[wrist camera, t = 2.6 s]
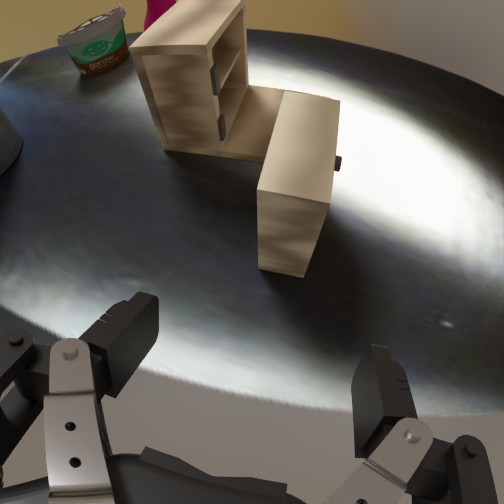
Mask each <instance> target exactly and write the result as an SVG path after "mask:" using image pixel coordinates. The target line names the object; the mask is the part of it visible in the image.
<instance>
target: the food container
mask: <svg viewBox="0 0 504 504" xmlns="http://www.w3.org/2000/svg"><path fill="white" fill-rule="evenodd" d="M125 15H126V12H125V11H124V9H123V7H122V6H120V4H119V8H117V9H114V10H112V11H110V12H108V13H106V14H104V15H100V16H97V17H94V18H92V19H89V20H87V21H86V22H84V23H83V24H81V25H80V26H78V27H77V28H75V29H73V30H72V31H70V32H68V33H66V34H64V35H59V34H57V35H58V37H57V42H58V45H59V46H64V47H65V49H66V51H67V52H68V54H69V55H70V57H71V59H72V60H73V62H74V64H75V65H76V67H77V68H78V70H79V72H80V73H81V75H82V76H85V77H93V76H97V75H101V74H103V73H106V72H108V71H110V70H112V69H114V68H116V67H117V66H119V65H120V64H121V63H122V62H123V61H124V60H125V59H126V58H127V57H128V54H129V52H128V47H127V41H126V36H125V30H124V24H123V18H124V17H125Z"/></svg>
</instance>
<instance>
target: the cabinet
mask: <svg viewBox="0 0 504 504" xmlns="http://www.w3.org/2000/svg"><path fill="white" fill-rule="evenodd" d="M129 49H130V52H131V55H132V58H133V61H134V64H135V68H136V71H137V74H138V77H139V80H140V83H141V86H142V89H143V92H144V95H145V98H146V101H147V104H148V107H149V110H150V112H151V115H152V118H153V121H154V124H155V127H156V130H157V132H158V135H159V138H160V141H161V144H162V146H163V149H164V150H170V151H179V152H188V153H196V154H204V155H212V156H219V157H226V158H233V159H240V160H246V161H252V162H259V163H264V162H265V158H266V154H267V151H268V147H269V144H270V140H271V137H272V133H273V130H274V126H275V123H276V119H277V116H278V112H279V109H280V105H281V102H282V98H283V95H284V91H289V90H282V89H275V88H268V87H260V86H251V85H249V83H248V60H247V37H246V16H245V0H179V1H178V2H177V3H176V4H174V5H173V6H172V7H171V8H170V9H169V10H168V11H166V12H165V13H164V14H163V15H162V16H161V17H160V18H159V19H158V20H157V21H155V22H154V23H153V24H152V25H151V26H150V27H149V28H148V29H147V30H146V31H145V32H144V33H143V34H142V35H141V36H140V37H139V38H138V39H137V40H136V41H135V42H134V43H133V44H132V45H131V46H130V47H129ZM290 92H295V91H290ZM296 93H301V92H296ZM302 94H307V93H302ZM308 95H313V94H308ZM313 96H318V95H313ZM319 97H323V96H319ZM324 98H328V97H324ZM329 99H331V98H329Z"/></svg>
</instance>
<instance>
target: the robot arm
mask: <svg viewBox="0 0 504 504" xmlns="http://www.w3.org/2000/svg"><path fill="white" fill-rule="evenodd" d="M21 147H22V137H21V136H20V134H19V133H18V132H17V130H16V129H15V127H14V126H13V125H12V123H11V122H10V120H9V119H8V117H7V116H6V114H5V113H4V112H3V110H2V109H1V107H0V175H2V174H3V173H4V172H5V171H6V170H7V169H8V168H9V167H10V166H11V164H12V163H13V162H14V160H15V159H16V157H17V156H18V154H19V152H20V150H21ZM158 332H159V300H158V297H157V296H154V295H150V294H147V293H143V292H137V293H136V294H135V295H134V296H133V297H132V298H131V299H130V300H129V301H126V300H123V301H121V302H119V303H117V304H114V305H113V306H112V307H111V308H110V309H108V310H107V311H106V313H105V314H103V315H102V316H101V317H100V319H98V320H97V321H96V322H95V323H94V324H93V325H92V326H91V327H90V328H89V329H88V330H87V331H85V332H84V333H83V334H82V335H81V336H80V337H79V338H78V339H76V338H67V339H63V340H60V341H58V342H57V343H55V344H54V345H53V347H50V346H45V345H39V344H35V343H34V339H33V336H32V334H31V333H30V332H29V331H27V330H24V329H14V330H11V331H8V332H7V333H5V334H4V335H3V336H1V337H0V396H1V394H2V393H3V391H4V390H5V389H6V388H7V387H8V386H9V385H10V383H11V382H12V381H14V383H15V386H14V387H13V388H12V389H11V390H10V392H9V393H8V394H7V395H6V396H5V397H4V398H3V400H2V401H1V402H0V504H306V503H305V502H303V501H302V500H300V499H298V498H297V497H295V496H293V495H290V494H288V493H286V489H287V484H285V483H279V482H273V481H268V480H262V479H257V478H252V477H216V476H211V475H208V474H206V473H204V472H203V471H201V470H199V469H197V468H195V467H193V466H192V465H190V464H188V463H186V462H184V461H183V460H181V459H179V458H177V457H174V456H171V455H168V454H165V453H162V452H159V451H157V450H154V449H151V448H149V447H145V448H144V450H143V452H142V454H130V453H129V454H128V453H127V454H116V455H113V453H112V450H111V446H110V442H109V438H108V433H107V429H106V424H105V419H104V413H103V408H102V403H101V399H102V398H103V396H104V395H105V394H106V395H108V396H111V397H113V398H116V397H117V395H118V394H119V393H120V391H121V390H122V388H123V387H124V386H125V384H126V383H127V381H128V380H129V379H130V377H131V376H132V374H133V373H134V371H135V370H136V369H137V367H138V366H139V365H140V363H141V362H142V360H143V359H144V358H145V356H146V355H147V354H148V352H149V351H150V349H151V348H152V347H153V345H154V344H155V342H156V340H157V337H158ZM351 393H352V407H353V423H354V444H355V458H366V460H365V461H364V462H363V463H362V464H361V465H360V466H359V467H358V469H357V470H356V471H355V472H354V473H353V474H352V475H351V476H350V477H349V478H348V479H347V480H346V481H345V482H344V483H343V484H342V485H341V486H340V487H339V488H338V489H337V490H336V491H335V492H334V493H333V494H332V495H331V496H330V497H329V498H328V499H327V500H326V501H325V502H324V503H323V504H397V502H398V501H399V499H400V498H401V496H402V495H403V494H404V493H408V494H411V495H412V504H498V500H497V495H496V490H495V485H494V481H493V477H492V472H491V469H490V465H489V460H488V457H487V453H486V449H485V447H484V445H483V444H482V443H481V441H480V440H478V439H477V438H475V437H473V436H470V435H463V436H460V437H458V438H457V439H456V440H455V442H454V443H449V442H446V441H442V440H439V439H436V438H434V437H433V434H432V432H431V430H430V428H429V427H428V425H426V424H425V423H424V422H423V421H420V420H419V419H418V418H417V413H416V409H415V406H414V402H413V398H412V394H411V391H410V387H409V383H408V380H407V376H406V373H405V370H404V369H403V368H402V366H401V365H400V364H399V363H398V361H392V359H391V355H390V351H389V348H388V347H386V346H380V345H374V344H368V345H367V347H366V349H365V351H364V353H363V355H362V358H361V360H360V362H359V365H358V367H357V369H356V371H355V373H354V376H353V380H352V385H351ZM43 409H44V432H45V449H46V461H47V470H48V476H47V477H43V478H40V479H36V480H33V481H29V482H25V483H22V484H18V485H14V486H10V487H6V488H3V481H2V479H3V468H2V465H3V464H4V463H5V461H6V460H7V458H8V457H9V455H10V454H11V452H12V451H13V450H14V448H15V447H16V445H17V444H18V443H19V441H20V440H21V438H22V437H23V436H24V434H25V433H26V431H27V430H28V429H29V427H30V426H31V425H32V423H33V422H34V420H35V419H36V418H37V416H38V415H39V414H40V413H41V411H42V410H43Z"/></svg>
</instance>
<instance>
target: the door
mask: <svg viewBox="0 0 504 504" xmlns="http://www.w3.org/2000/svg"><path fill="white" fill-rule="evenodd" d="M339 111H340V101H339V100H334V99H329V98H324V97H319V96H313V95H308V94H302V93H296V92H290V91H284V95H283V98H282V102H281V105H280V109H279V112H278V116H277V119H276V123H275V126H274V130H273V133H272V137H271V140H270V144H269V147H268V151H267V154H266V158H265V162H264V165H263V169H262V172H261V176H260V179H259V183H258V187H257V223H258V269H262V270H267V271H272V272H277V273H281V274H286V275H291V276H296V277H301V278H304V275H305V272H306V270H307V267H308V264H309V262H310V259H311V256H312V253H313V251H314V248H315V245H316V242H317V240H318V237H319V234H320V231H321V228H322V225H323V223H324V220H325V217H326V214H327V211H328V208H329V205H330V200H331V192H332V184H333V175H334V171H338V172H339V170H340V166H341V160H342V157H340V156H336V146H337V135H338V124H339Z"/></svg>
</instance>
